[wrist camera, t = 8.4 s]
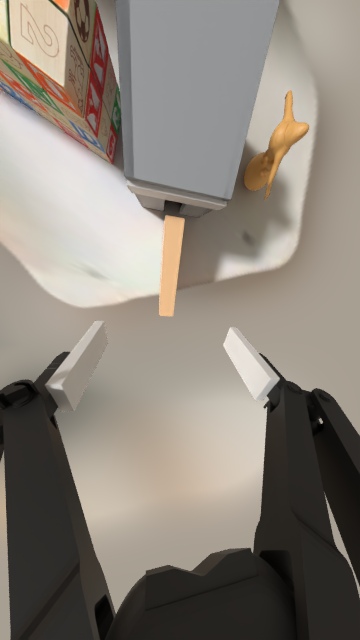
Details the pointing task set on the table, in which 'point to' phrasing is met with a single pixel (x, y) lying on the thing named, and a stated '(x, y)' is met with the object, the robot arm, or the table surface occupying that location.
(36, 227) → the table surface
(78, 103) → the stack of blocks
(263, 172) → the figurine
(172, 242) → the light orange rectangular block
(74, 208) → the table surface
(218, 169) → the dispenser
